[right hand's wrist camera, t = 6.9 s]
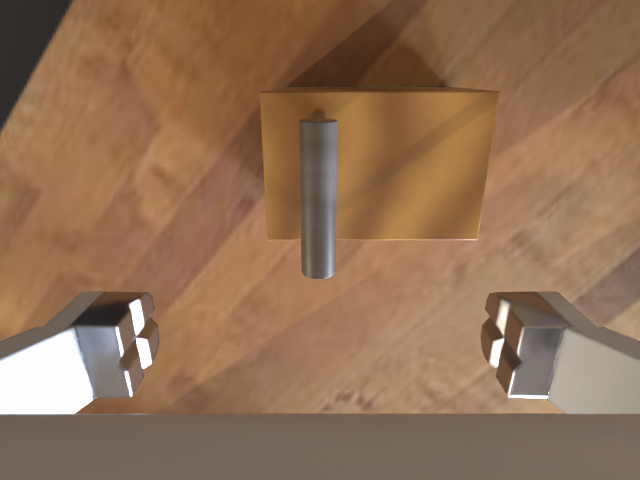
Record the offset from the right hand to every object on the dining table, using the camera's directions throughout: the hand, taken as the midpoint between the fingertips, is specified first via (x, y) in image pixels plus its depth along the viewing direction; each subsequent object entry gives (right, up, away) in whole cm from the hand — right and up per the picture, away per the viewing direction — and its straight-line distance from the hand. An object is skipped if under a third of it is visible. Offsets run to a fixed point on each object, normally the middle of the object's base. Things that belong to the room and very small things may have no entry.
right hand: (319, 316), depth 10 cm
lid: (+3, +6, +16) cm, 18 cm away
